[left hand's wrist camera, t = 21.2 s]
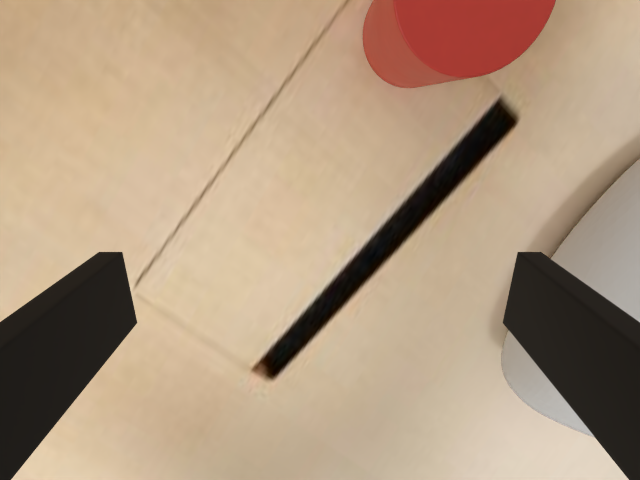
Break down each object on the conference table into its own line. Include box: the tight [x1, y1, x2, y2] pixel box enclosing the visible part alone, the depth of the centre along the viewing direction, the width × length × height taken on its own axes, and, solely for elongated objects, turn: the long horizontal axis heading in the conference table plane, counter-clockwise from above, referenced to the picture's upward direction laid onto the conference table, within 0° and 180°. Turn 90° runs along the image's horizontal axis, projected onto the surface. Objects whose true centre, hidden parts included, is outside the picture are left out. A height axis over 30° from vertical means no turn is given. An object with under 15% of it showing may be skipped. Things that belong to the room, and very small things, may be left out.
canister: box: [363, 0, 556, 88], centre depth 21 cm, size 7×7×12 cm
